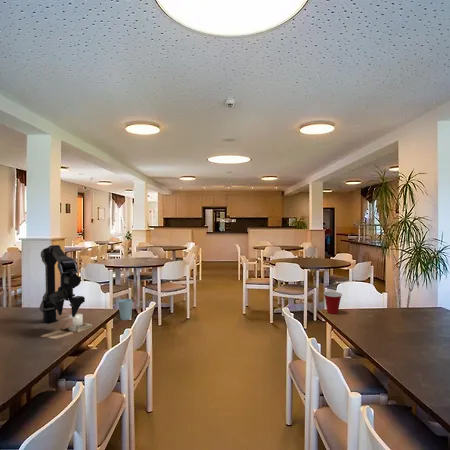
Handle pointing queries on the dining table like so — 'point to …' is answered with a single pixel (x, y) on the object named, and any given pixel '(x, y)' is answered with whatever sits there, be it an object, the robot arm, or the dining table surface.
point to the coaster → (57, 334)
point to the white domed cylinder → (72, 322)
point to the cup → (125, 308)
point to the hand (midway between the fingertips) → (66, 316)
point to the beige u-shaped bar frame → (85, 326)
